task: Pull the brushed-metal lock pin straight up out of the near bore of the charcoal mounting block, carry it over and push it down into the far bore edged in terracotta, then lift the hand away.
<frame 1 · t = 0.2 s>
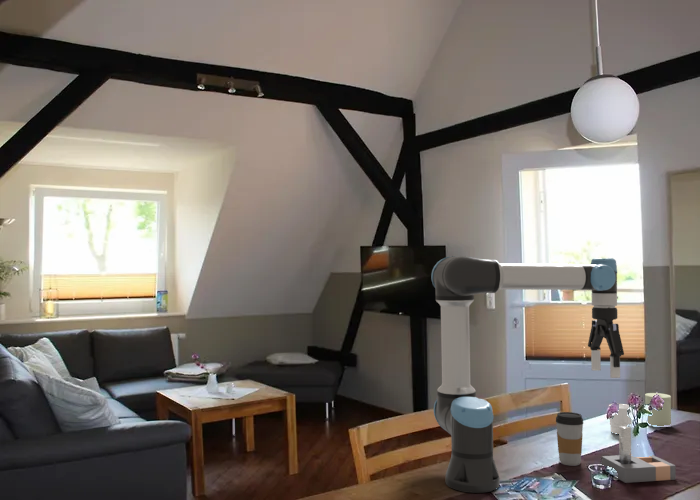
hand: (605, 374, 204), 27 cm above the table, tool pointing down, fingers open, 13 cm apart
mount block: (637, 474, 191), on the table
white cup: (620, 433, 237), on the table
lock pin: (625, 475, 190), resting in mount block
can: (658, 425, 248), on the table
coffee cup: (569, 463, 202), on the table
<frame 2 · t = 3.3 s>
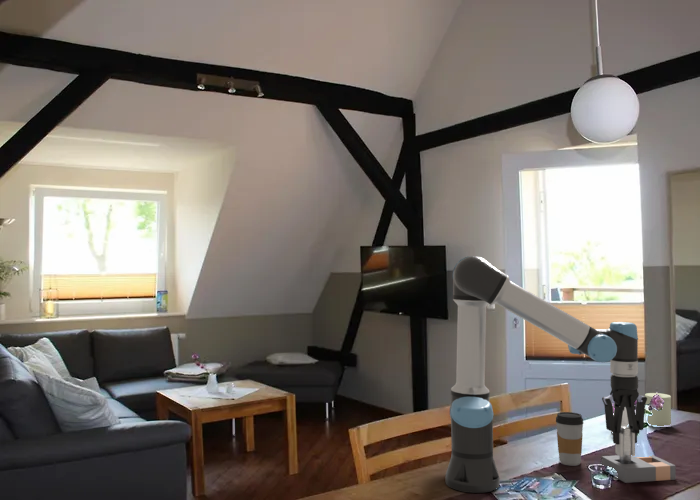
hand: (625, 454, 190), 6 cm above the table, tool pointing down, fingers closed on lock pin, 3 cm apart
lock pin: (625, 475, 190), resting in mount block, touching gripper
everything else where it was.
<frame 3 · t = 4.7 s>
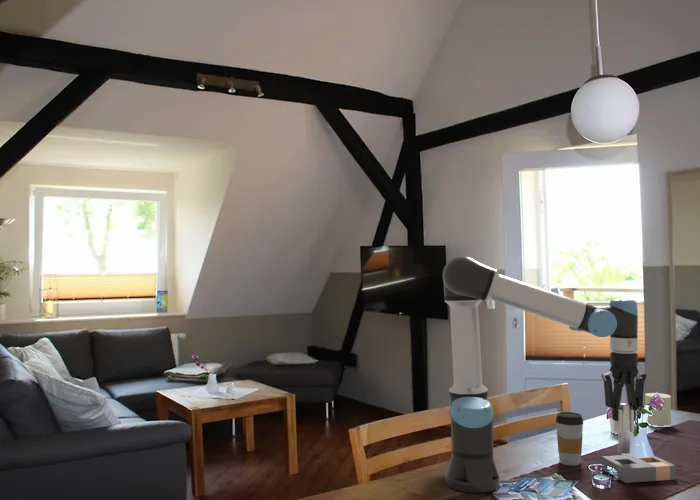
hand: (624, 431, 190), 13 cm above the table, tool pointing down, fingers closed on lock pin, 3 cm apart
lock pin: (624, 451, 190), point 7 cm above the table, touching gripper
everything else where it was.
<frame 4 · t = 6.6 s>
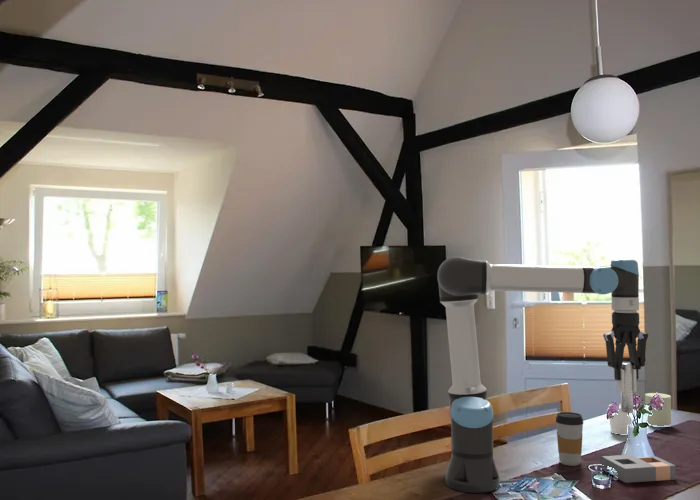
hand: (626, 390, 191), 25 cm above the table, tool pointing down, fingers closed on lock pin, 3 cm apart
lock pin: (627, 411, 191), point 19 cm above the table, touching gripper
everything else where it was.
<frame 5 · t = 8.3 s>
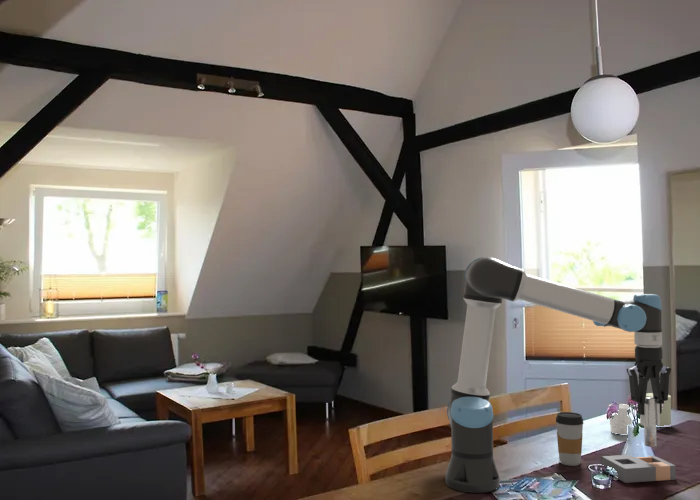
hand: (650, 424, 192), 14 cm above the table, tool pointing down, fingers closed on lock pin, 3 cm apart
lock pin: (650, 445, 192), point 8 cm above the table, touching gripper
everything else where it was.
when the fingers open (7 cm above the table, at t = 9.9 s): lock pin drops 1 cm, resting in mount block.
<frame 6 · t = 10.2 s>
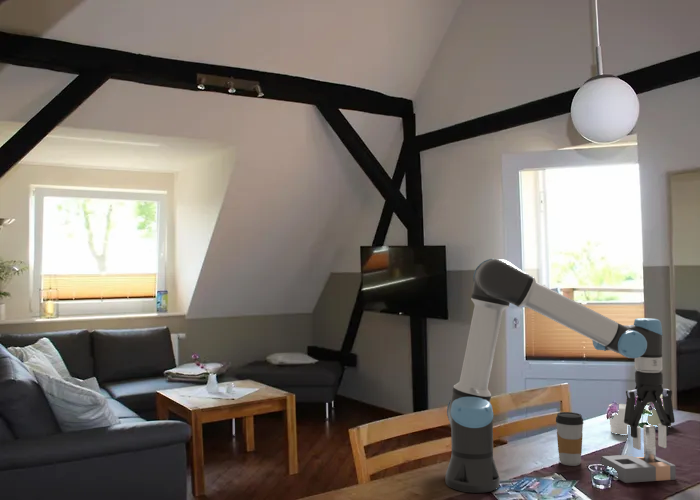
hand: (649, 447, 192), 8 cm above the table, tool pointing down, fingers open, 8 cm apart
lock pin: (650, 473, 191), resting in mount block
everything else where it was.
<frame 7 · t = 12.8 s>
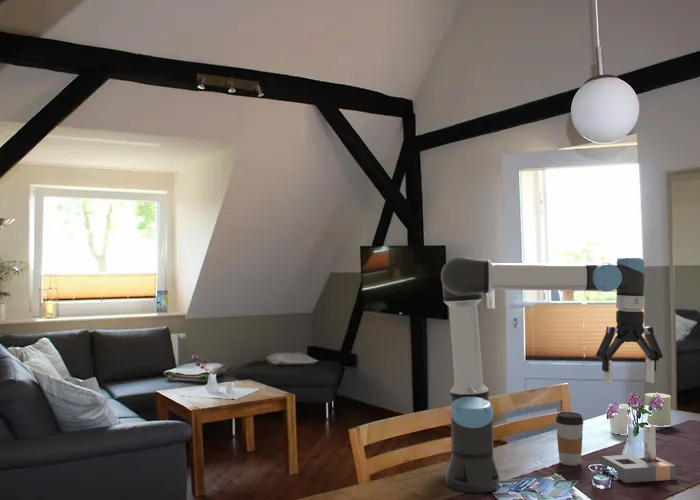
hand: (629, 382, 189), 27 cm above the table, tool pointing down, fingers open, 13 cm apart
nothing on the table moved.
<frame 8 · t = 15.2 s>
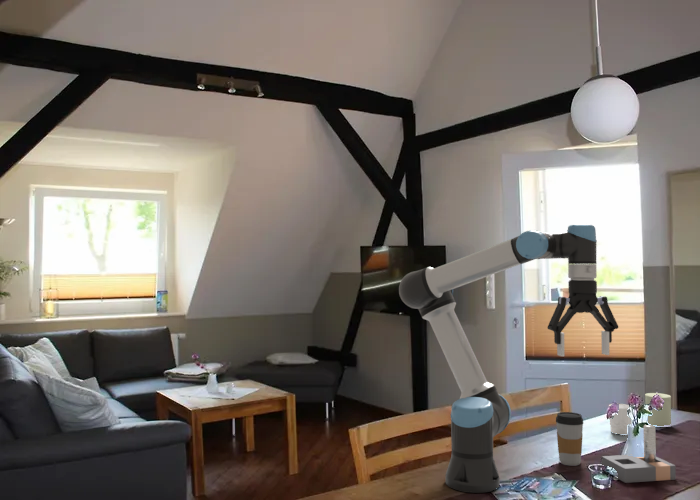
hand: (583, 355, 181), 37 cm above the table, tool pointing down, fingers open, 13 cm apart
nothing on the table moved.
at the end: lock pin 0.0 cm from the target spot on the mount block, point 0.0 cm above the mount block's base; lock pin tilted 0°; the gripper is holding nothing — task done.
